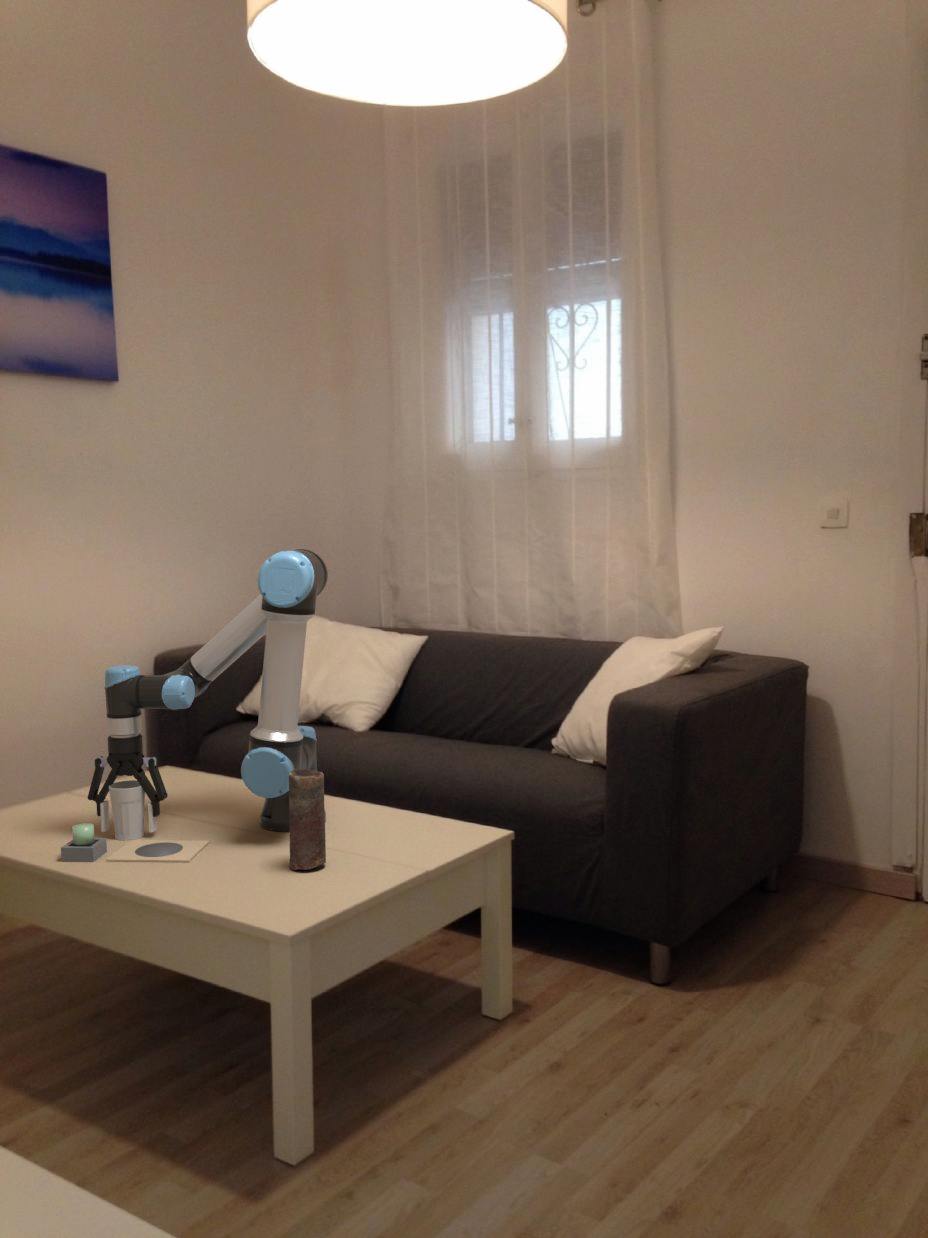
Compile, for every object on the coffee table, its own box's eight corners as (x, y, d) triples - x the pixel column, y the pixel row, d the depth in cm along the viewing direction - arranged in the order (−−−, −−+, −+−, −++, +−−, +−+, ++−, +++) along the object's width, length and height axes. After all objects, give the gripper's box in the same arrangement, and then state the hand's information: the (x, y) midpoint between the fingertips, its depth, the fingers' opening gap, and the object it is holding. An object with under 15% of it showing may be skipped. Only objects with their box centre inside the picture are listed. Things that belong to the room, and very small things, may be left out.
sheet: (209, 842, 248) (209, 840, 248) (188, 862, 234) (188, 860, 234) (131, 841, 250) (131, 839, 250) (105, 861, 236) (105, 859, 236)
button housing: (106, 851, 243) (106, 838, 242) (93, 862, 236) (92, 848, 235) (75, 851, 243) (75, 838, 243) (61, 861, 236) (60, 847, 236)
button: (97, 839, 241) (97, 823, 241) (89, 845, 237) (88, 829, 236) (78, 839, 241) (77, 823, 241) (69, 845, 237) (68, 829, 237)
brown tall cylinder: (310, 859, 235) (307, 765, 233) (334, 865, 231) (331, 770, 229) (282, 868, 229) (279, 772, 227) (306, 875, 225) (303, 777, 223)
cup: (137, 842, 249) (134, 789, 248) (104, 840, 251) (101, 788, 250) (154, 832, 257) (151, 781, 256) (122, 830, 259) (119, 779, 257)
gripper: (180, 731, 254) (183, 826, 256) (82, 731, 256) (87, 825, 259) (168, 738, 247) (172, 835, 249) (68, 737, 249) (73, 834, 251)
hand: (129, 830), depth 254 cm, fingers open, 10 cm apart
